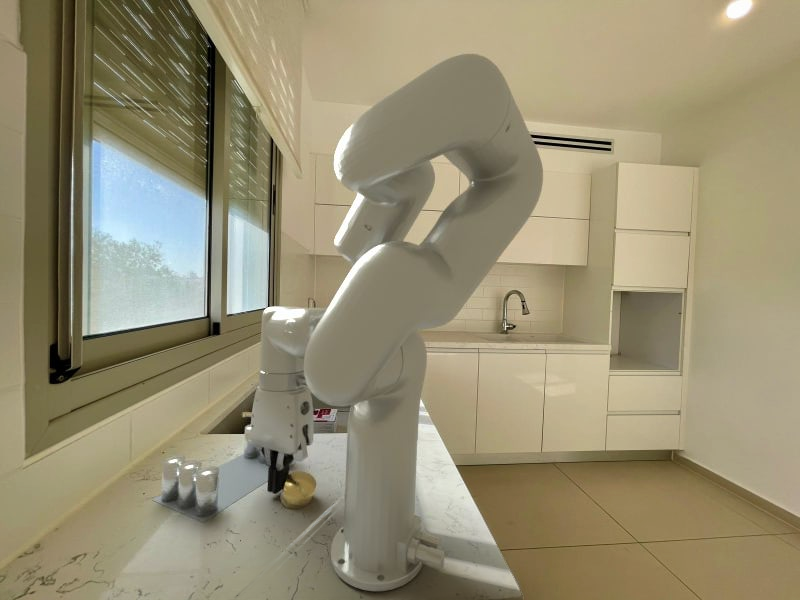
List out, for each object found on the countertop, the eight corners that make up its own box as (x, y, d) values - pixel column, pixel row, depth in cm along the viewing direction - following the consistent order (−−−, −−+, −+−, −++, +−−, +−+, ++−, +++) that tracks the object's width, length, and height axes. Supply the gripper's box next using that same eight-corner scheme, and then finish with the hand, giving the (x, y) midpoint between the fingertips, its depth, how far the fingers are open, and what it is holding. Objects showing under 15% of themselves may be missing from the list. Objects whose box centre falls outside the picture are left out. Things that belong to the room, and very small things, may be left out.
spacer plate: (296, 465, 66) (296, 462, 66) (203, 526, 48) (203, 522, 48) (252, 452, 71) (252, 449, 71) (151, 503, 53) (151, 499, 53)
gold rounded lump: (316, 497, 56) (322, 482, 55) (298, 516, 51) (303, 499, 51) (293, 481, 57) (299, 466, 57) (273, 498, 53) (279, 482, 52)
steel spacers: (292, 462, 66) (294, 432, 66) (204, 519, 49) (205, 478, 49) (252, 451, 70) (253, 422, 70) (157, 498, 53) (158, 461, 53)
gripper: (333, 381, 56) (328, 489, 56) (266, 370, 62) (261, 467, 62) (304, 392, 49) (298, 515, 49) (231, 378, 55) (226, 488, 55)
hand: (278, 488), depth 55 cm, fingers closed
